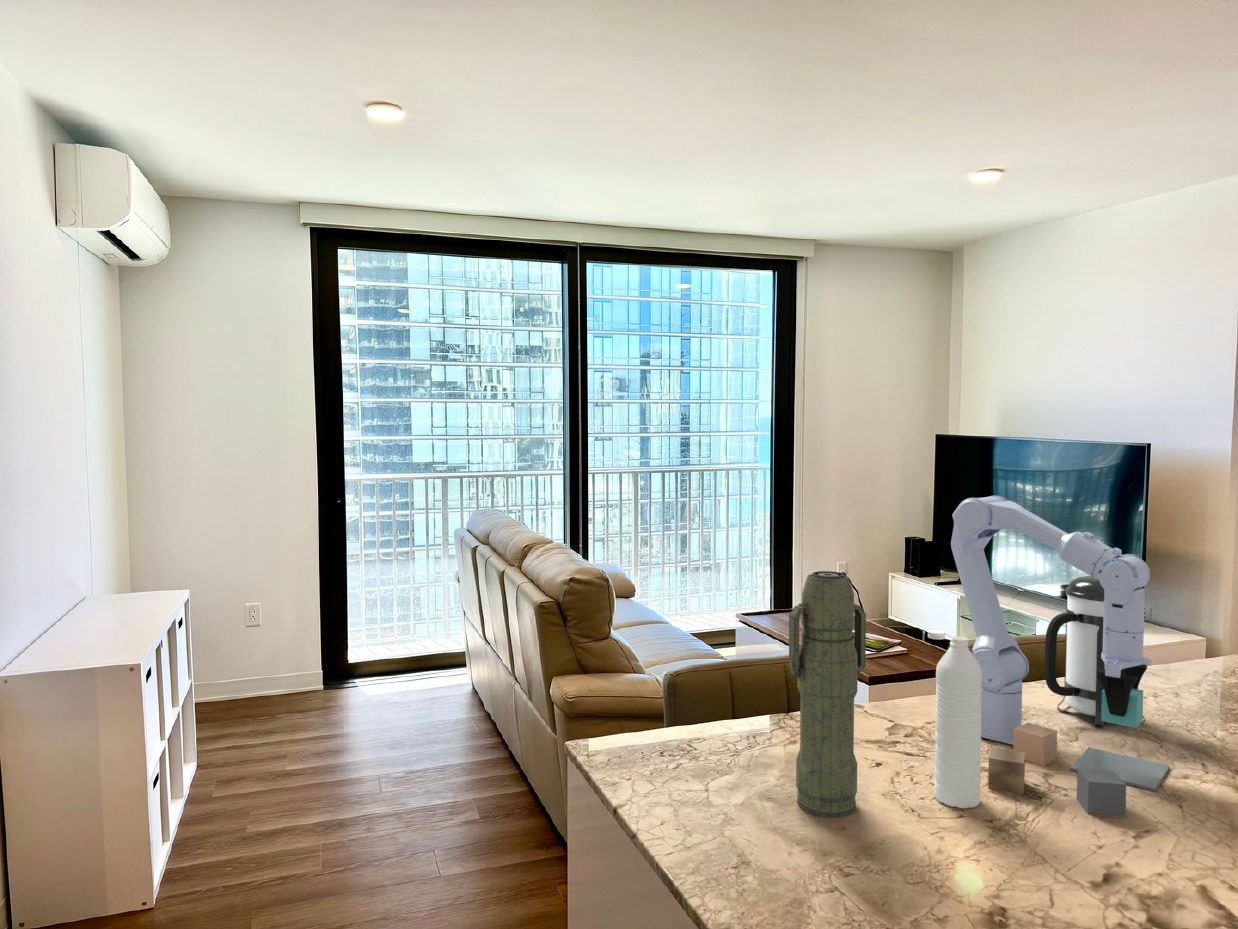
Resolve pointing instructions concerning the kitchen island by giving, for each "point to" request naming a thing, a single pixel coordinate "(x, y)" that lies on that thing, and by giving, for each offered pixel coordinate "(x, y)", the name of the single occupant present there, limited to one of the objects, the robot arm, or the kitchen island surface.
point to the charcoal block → (1101, 792)
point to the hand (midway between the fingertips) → (1121, 710)
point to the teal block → (1133, 710)
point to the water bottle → (957, 725)
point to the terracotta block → (1036, 743)
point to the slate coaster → (1124, 767)
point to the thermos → (827, 692)
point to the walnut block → (1006, 770)
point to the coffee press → (1079, 648)
